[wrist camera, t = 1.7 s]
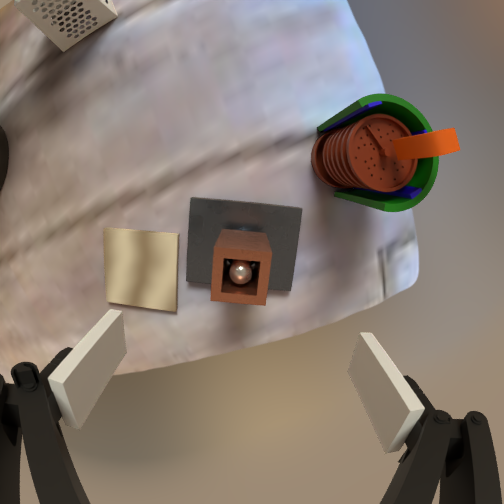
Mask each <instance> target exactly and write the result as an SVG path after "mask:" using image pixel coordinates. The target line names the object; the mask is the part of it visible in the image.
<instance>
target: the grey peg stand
mask: <svg viewBox="0 0 504 504" xmlns="http://www.w3.org/2000/svg"><path fill="white" fill-rule="evenodd" d="M301 215H302V208H299V207H291V206H282V205H273V204H264V203H254V202H244V201H233V200H222V199H211V198H198V197H192V198H191V201H190V214H189V230H188V248H187V272H186V281H189V282H198V283H208V284H211V283H212V267H213V253H214V246H215V244H216V241H217V239H218V237H219V235H220V233H221V231H222V229H230V230H241V231H251V232H261V233H266V235H267V238H268V241H269V244H270V247H271V250H272V259H271V267H270V274H269V282H268V289H273V290H285V291H291V286H292V280H293V273H294V266H295V259H296V252H297V245H298V238H299V231H300V223H301ZM254 263H255V261H249V260H238V259H228V260H227V264H231V268H230V278H231V279H232V281H234V282H235V283H237V284H244V283H246V282H248V281H249V280H250V278H251V275H252V270H251V266H254Z"/></svg>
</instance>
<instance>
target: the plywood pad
mask: <svg viewBox="0 0 504 504" xmlns="http://www.w3.org/2000/svg"><path fill="white" fill-rule="evenodd" d="M178 253H179V234H176V233H165V232H153V231H142V230H130V229H118V228H104V269H105V285H106V298H107V302H113V303H119V304H125V305H132V306H138V307H145V308H152V309H159V310H166V311H174V312H176V310H177V289H178Z"/></svg>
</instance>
